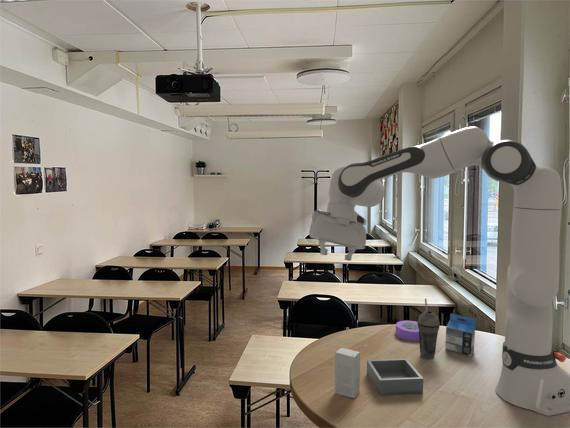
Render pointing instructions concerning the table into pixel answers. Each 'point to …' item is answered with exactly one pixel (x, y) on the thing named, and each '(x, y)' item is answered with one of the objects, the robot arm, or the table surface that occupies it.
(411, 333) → the masking tape
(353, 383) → the skincare box
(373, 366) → the box
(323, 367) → the table surface
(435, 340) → the beverage cup
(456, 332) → the label tape cartridge
